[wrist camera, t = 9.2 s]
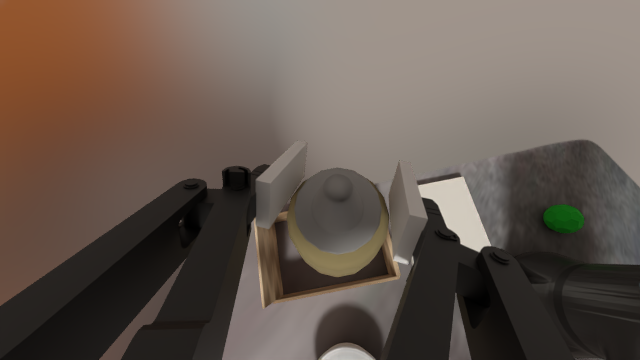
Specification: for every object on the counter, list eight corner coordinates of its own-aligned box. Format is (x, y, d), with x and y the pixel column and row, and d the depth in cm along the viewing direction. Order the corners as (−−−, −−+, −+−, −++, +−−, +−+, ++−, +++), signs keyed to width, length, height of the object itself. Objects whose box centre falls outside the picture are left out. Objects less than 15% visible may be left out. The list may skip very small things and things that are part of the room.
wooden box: (392, 275, 43) (414, 281, 31) (281, 297, 42) (262, 311, 31) (373, 201, 47) (385, 182, 36) (272, 221, 47) (252, 208, 35)
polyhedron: (530, 215, 45) (552, 210, 40) (551, 202, 45) (575, 196, 41) (551, 239, 43) (576, 237, 39) (572, 226, 44) (599, 222, 39)
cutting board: (488, 251, 43) (493, 250, 42) (412, 266, 43) (414, 266, 42) (459, 178, 47) (463, 176, 46) (390, 192, 47) (391, 190, 46)
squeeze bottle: (376, 275, 25) (465, 308, 8) (298, 274, 25) (220, 302, 8) (372, 199, 27) (431, 96, 10) (301, 199, 28) (246, 102, 11)
